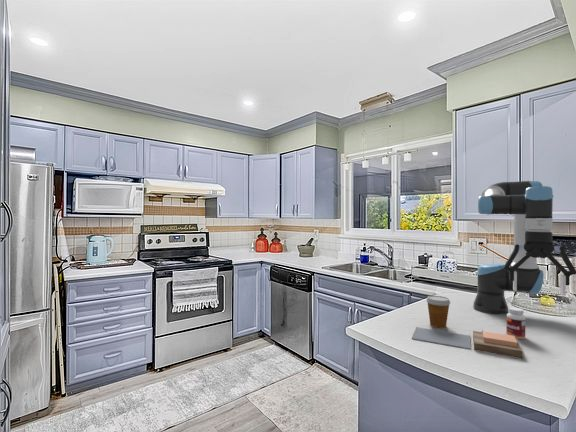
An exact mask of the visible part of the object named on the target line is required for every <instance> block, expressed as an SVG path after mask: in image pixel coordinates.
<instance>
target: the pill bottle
mask: <svg viewBox="0 0 576 432" xmlns="http://www.w3.org/2000/svg"><path fill="white" fill-rule="evenodd" d="M526 321H527V320H526V316H525V315H524V310H523V308H520V307H508V313H506V328H505V329H506V331H505V333H506V334H505V335H512V336H515V337H516V338H517V340H523V339H525V338H526Z"/></svg>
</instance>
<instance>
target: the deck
mask: <svg viewBox="0 0 576 432" xmlns="http://www.w3.org/2000/svg"><path fill="white" fill-rule="evenodd" d="M515 339H516V341H517V347H515V346H509V345H503V344H497V343H491V342H484V341H483V336H482V331H476V330H473V331H472V340H473V350H474V351H478V352H483V353H489V354H495V355H499V356H505V357H510V358H517V359H523V349H522V346H521V345H520V343H519V341H518V340H519V339H517V338H516V337H515Z"/></svg>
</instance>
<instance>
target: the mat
mask: <svg viewBox="0 0 576 432" xmlns="http://www.w3.org/2000/svg"><path fill="white" fill-rule="evenodd" d="M411 336H412V337H411V340H413V341H414V340H416V341H419V342H420V341H422V342H425V343H426V342H427V343H432V344H439V345H444V346H450V347H454V348H455V347H456V348H461V349H466V350H472V346H471V345H472V344H471V341H472V340H471V335H469V334H462V333H455V332H450V331H444V330H443V331H442V330H437V329H431V328H424V327H418V326H416V327H415V329H414V331H413V334H412V335H411Z"/></svg>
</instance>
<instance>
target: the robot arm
mask: <svg viewBox="0 0 576 432" xmlns="http://www.w3.org/2000/svg"><path fill="white" fill-rule="evenodd" d="M553 198H554V194H553V188H552V187H551V186H548V185H547V186H545V185H544V186H543V184H542V182H540V181H539V180H523V181H520V180H519V181H501V182H496V183H493V184H490V185H488V186H486V187H484V189H483V190H482V192H481V195H480V196H478V201H477V203H478V204H477V205H478V206H477V210H478V211H477V212H478V213H479V215H488V216H490V215H513V217H514V219H513V220H514V224H513V227H514V228H513V250H512V252H511V253H510V255H509V256H508V259H507V260H506V261H505V264H503V263H485V264H481V265H479V266H478V267H477V274H476V275H477V285H476V286H477V290H476V291H477V292H476V293H477V294H476V296H475V298H474V301H473V305H472V306H473V309H475V310H476V311H479V312H482V313H487V314H493V315H507V314H508V313H509V306H508V304H507V303H508V302H507V300H506V298H505V292H512V293H513V292H514V293H515V292H516V293H523V294H527V295H528V294H534V295H535V294H536V295H537V294H539V293H540V292H541V290H542V287H543V285H544V284H543V283H544V270H542V269H540V265H538V264H537V262H536V259H538V258H540V259H546V258H547V259H548V260H550V262H551V263H552V264H553V265H555V267H556V268H557V269H558V270H559V271H560V272H561V273H562V274H560V295H562V296H567V295H566V292H567V291H566V289H567V288H566V287H567V286H570V285H571V284H570V276H573V275H576V268H575V266H574V265H573V264H572V261H571V260H570V259H569V257H568V255H567V253H566V250H565V249H566V247H565V246H563V245H557V246H554V245H553V232H552V231H553V207H554V206H553V203H554V202H553V200H554V199H553ZM554 251H556V253H558V254H559V256H560V257H561V259H562V261H563V263H564V264H565V266H566V268H567V269H568V270H567V269H566V268H565V267H564V266H563V264H562V263H561V262H559V261H558V260H557V259H556V257H555V256H553V254H552V253H553V252H554Z"/></svg>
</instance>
